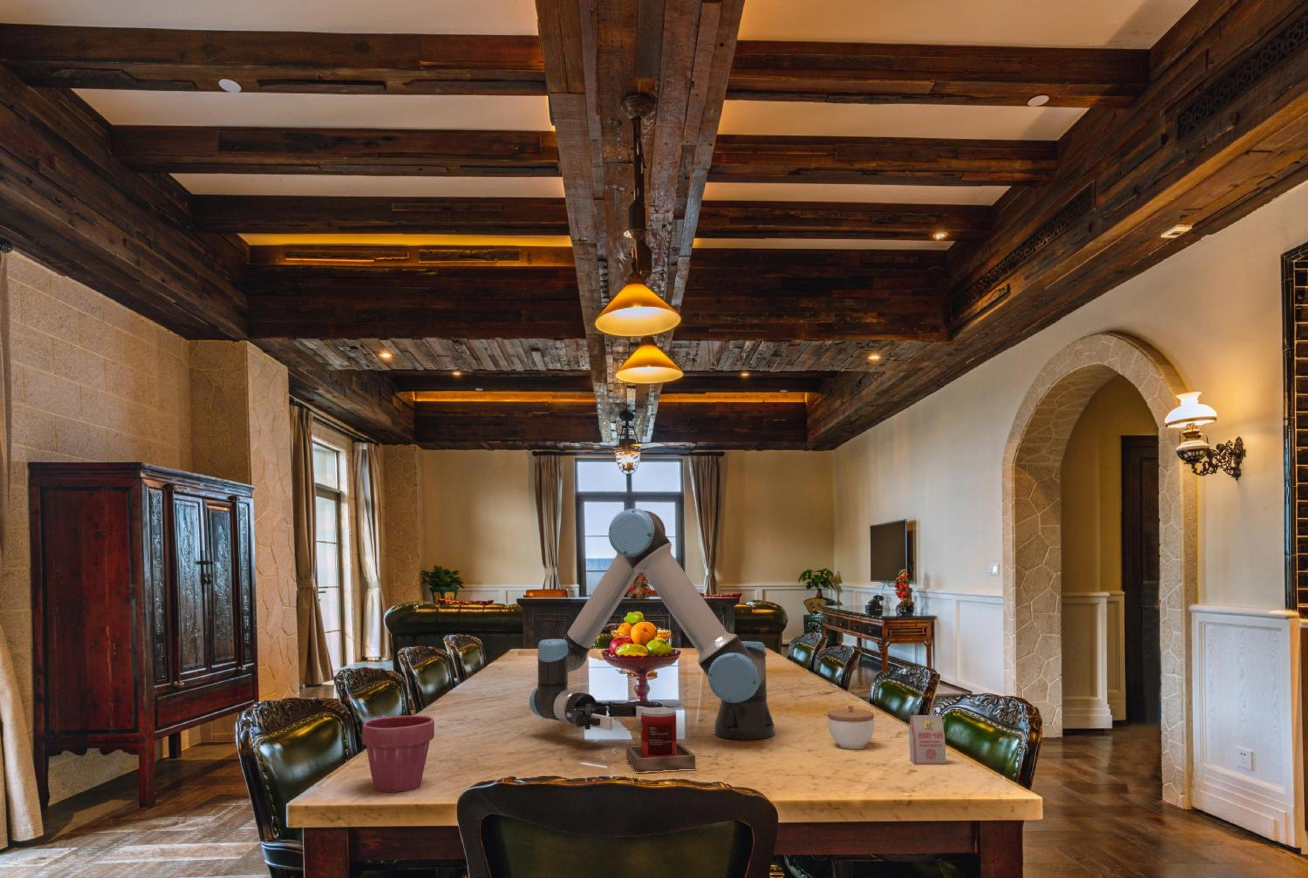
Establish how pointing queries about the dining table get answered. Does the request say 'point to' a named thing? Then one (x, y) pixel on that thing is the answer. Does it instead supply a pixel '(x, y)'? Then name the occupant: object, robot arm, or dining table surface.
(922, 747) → the white tea box
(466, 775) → the dining table surface
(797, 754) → the dining table surface
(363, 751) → the dining table surface
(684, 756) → the walnut tray
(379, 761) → the plant pot
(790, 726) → the dining table surface
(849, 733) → the lidded jar
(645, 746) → the canned food
